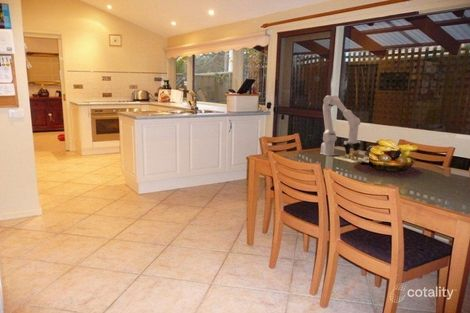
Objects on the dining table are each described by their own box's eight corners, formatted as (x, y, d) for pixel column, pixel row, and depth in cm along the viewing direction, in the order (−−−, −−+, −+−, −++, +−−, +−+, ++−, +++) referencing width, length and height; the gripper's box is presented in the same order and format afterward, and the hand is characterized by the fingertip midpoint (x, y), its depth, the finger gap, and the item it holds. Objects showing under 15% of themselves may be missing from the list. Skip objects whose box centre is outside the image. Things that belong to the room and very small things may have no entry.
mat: (333, 157, 253) (333, 157, 253) (348, 156, 261) (349, 155, 261) (352, 163, 238) (352, 162, 238) (368, 161, 246) (368, 160, 246)
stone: (358, 166, 235) (359, 145, 239) (364, 170, 241) (365, 150, 245) (379, 165, 225) (379, 143, 229) (384, 169, 232) (385, 147, 236)
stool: (357, 159, 247) (358, 151, 246) (352, 160, 244) (353, 151, 243) (349, 157, 254) (350, 149, 252) (344, 157, 251) (345, 149, 250)
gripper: (350, 136, 239) (348, 155, 242) (364, 135, 246) (362, 154, 249) (342, 134, 245) (340, 153, 248) (356, 133, 252) (355, 152, 255)
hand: (351, 153), depth 249 cm, fingers open, 7 cm apart
